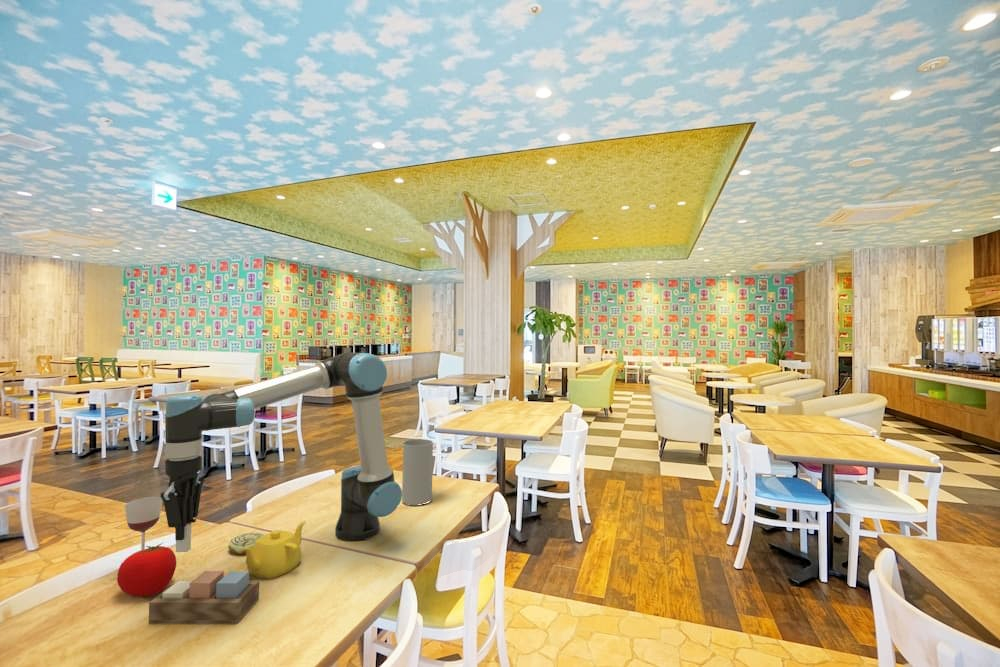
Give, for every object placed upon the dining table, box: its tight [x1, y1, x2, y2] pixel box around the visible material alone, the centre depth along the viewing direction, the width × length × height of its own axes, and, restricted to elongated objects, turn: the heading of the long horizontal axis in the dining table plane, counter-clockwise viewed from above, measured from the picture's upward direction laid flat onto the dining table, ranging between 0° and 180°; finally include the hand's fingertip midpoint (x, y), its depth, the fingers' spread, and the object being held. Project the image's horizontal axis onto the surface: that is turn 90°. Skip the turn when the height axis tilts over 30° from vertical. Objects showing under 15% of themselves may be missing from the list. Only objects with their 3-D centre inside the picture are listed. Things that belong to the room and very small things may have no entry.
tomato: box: [116, 542, 177, 598], centre depth 121 cm, size 12×14×12 cm
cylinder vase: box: [401, 438, 434, 506], centre depth 192 cm, size 12×12×25 cm
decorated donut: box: [228, 532, 265, 556], centre depth 147 cm, size 10×11×4 cm
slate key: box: [216, 570, 250, 599], centre depth 113 cm, size 5×6×5 cm
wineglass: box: [124, 496, 163, 551], centre depth 132 cm, size 8×9×20 cm
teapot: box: [241, 520, 307, 580], centre depth 134 cm, size 22×16×11 cm
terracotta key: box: [189, 570, 225, 599], centre depth 113 cm, size 5×6×5 cm
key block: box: [148, 579, 260, 625], centre depth 113 cm, size 21×10×5 cm, turn 91°
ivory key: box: [161, 580, 192, 599], centre depth 113 cm, size 5×6×5 cm
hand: (183, 550), depth 113 cm, fingers closed
